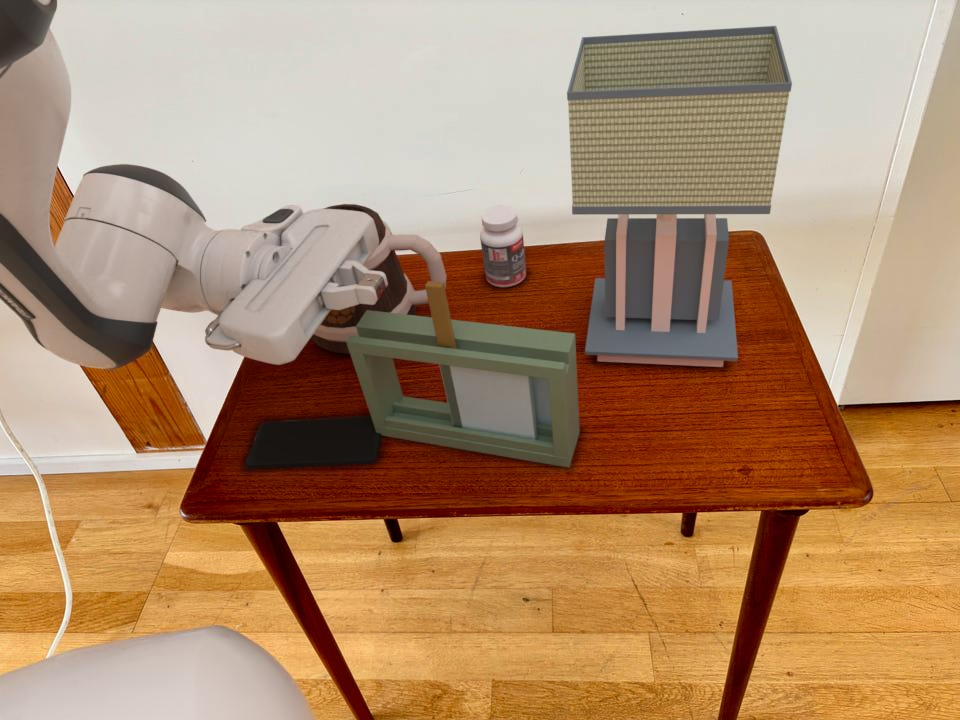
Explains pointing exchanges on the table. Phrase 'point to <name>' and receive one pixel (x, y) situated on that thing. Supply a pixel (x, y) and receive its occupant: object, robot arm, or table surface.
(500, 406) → the window pane
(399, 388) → the window frame
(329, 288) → the robot arm
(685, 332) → the desk lamp
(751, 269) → the table surface
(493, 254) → the pill bottle
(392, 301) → the mug
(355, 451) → the smartphone
